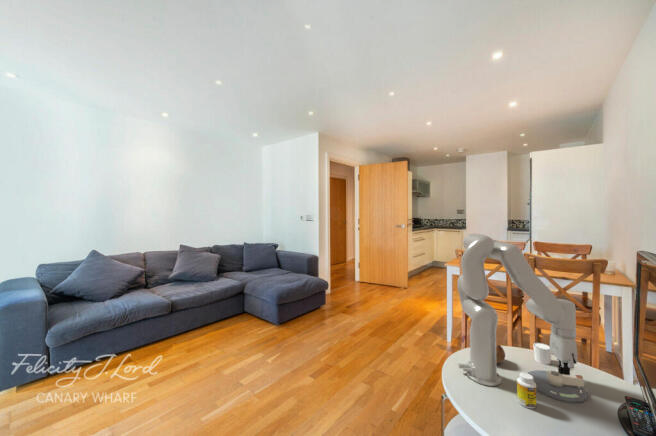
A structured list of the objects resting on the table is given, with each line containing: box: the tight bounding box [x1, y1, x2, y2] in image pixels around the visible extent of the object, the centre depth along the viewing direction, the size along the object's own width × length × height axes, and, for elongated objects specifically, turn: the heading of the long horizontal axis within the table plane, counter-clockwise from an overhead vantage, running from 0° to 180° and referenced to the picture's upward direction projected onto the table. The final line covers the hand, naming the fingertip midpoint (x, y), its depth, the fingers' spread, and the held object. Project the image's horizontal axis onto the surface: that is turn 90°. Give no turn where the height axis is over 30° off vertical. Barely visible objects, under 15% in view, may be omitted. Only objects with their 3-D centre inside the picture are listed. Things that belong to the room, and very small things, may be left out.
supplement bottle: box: [516, 372, 537, 409], centre depth 95 cm, size 6×6×10 cm
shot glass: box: [532, 342, 553, 365], centre depth 121 cm, size 7×7×7 cm
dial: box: [527, 369, 588, 404], centre depth 103 cm, size 18×18×2 cm
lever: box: [547, 370, 585, 388], centre depth 102 cm, size 11×5×4 cm, turn 75°
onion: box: [496, 342, 506, 364], centre depth 122 cm, size 10×9×10 cm
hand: (564, 375), depth 107 cm, fingers closed
